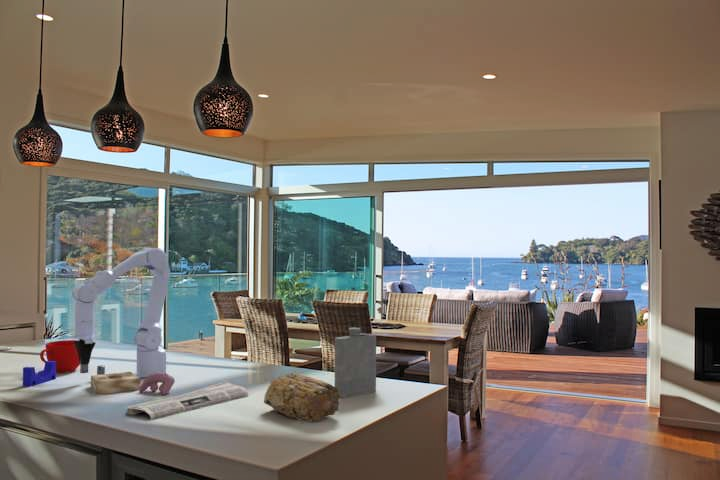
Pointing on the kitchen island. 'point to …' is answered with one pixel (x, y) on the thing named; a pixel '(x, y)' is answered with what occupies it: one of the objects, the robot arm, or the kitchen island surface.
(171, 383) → the pink textured arched piece
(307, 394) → the petrified wood
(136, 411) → the newspaper
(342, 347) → the hip flask
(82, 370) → the long pin
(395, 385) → the kitchen island surface
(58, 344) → the ceramic cup
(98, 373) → the short pin
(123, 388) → the bore block
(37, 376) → the cable clip
